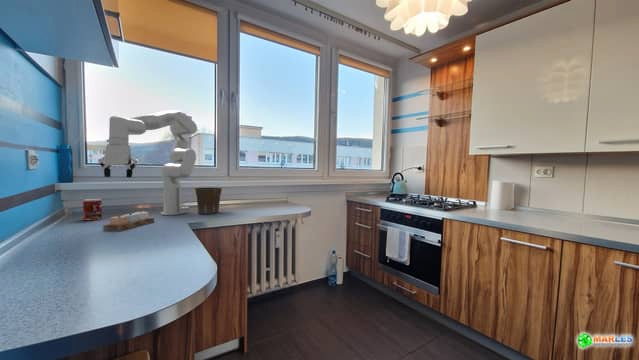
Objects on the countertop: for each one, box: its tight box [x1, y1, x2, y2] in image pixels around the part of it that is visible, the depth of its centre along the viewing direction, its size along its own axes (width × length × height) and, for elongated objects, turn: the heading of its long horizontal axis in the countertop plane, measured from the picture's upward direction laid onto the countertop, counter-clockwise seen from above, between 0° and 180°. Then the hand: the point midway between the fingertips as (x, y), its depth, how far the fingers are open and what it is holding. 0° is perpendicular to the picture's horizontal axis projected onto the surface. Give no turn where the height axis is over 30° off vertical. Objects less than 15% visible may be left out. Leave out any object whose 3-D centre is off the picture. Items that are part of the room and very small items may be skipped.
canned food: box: [82, 198, 103, 220], centre depth 141 cm, size 8×8×11 cm
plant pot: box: [194, 187, 223, 215], centre depth 166 cm, size 16×16×16 cm
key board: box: [102, 216, 155, 232], centre depth 126 cm, size 20×8×2 cm, turn 174°
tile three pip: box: [109, 215, 128, 225], centre depth 120 cm, size 5×5×4 cm
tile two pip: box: [121, 213, 139, 222], centre depth 126 cm, size 5×5×4 cm
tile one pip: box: [132, 211, 149, 220], centre depth 133 cm, size 5×5×4 cm
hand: (118, 177), depth 126 cm, fingers open, 9 cm apart
